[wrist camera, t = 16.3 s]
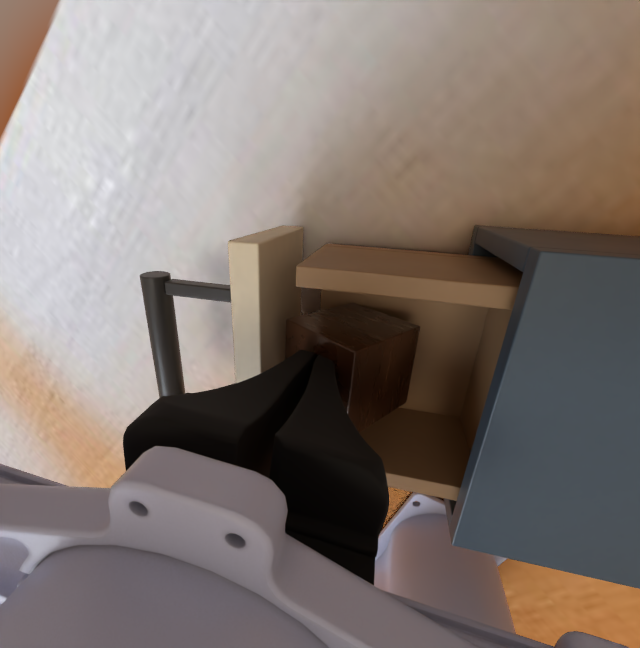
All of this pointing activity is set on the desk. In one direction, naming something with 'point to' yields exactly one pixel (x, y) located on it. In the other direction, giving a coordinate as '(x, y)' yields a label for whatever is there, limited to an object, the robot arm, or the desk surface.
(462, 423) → the drawer
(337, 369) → the block
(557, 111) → the desk surface
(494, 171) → the desk surface
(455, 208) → the desk surface
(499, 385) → the cabinet
